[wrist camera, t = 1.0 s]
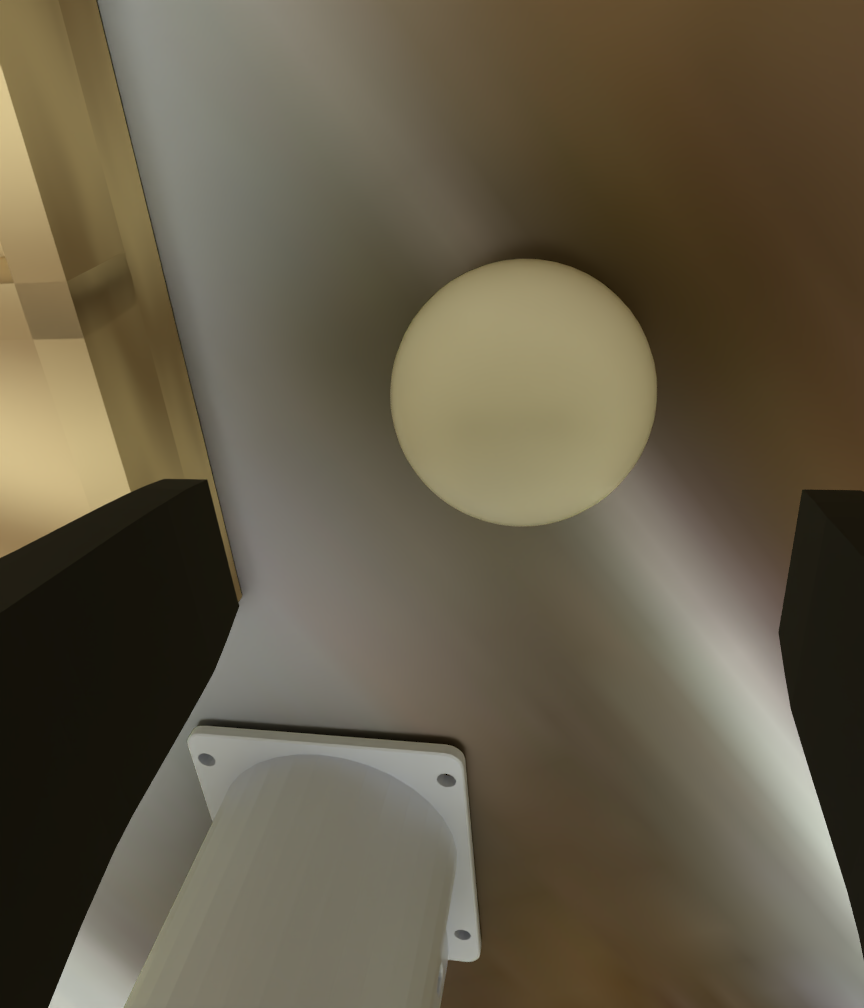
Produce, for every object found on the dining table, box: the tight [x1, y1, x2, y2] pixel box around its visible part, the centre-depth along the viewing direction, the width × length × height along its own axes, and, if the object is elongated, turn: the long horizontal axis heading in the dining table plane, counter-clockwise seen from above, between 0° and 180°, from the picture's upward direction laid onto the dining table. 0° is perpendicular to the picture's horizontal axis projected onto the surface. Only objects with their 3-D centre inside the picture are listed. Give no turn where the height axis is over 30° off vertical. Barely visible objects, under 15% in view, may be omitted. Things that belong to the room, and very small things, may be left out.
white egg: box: [390, 259, 657, 526], centre depth 15 cm, size 5×5×5 cm
